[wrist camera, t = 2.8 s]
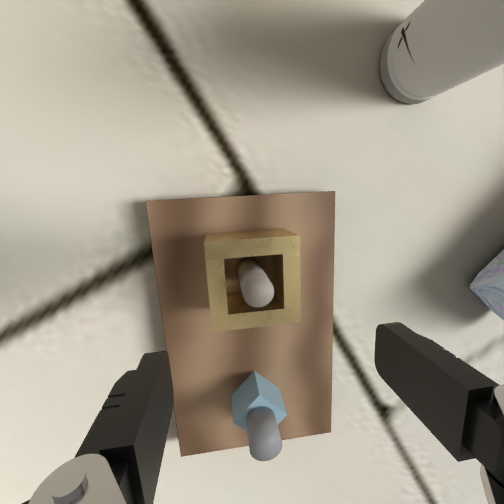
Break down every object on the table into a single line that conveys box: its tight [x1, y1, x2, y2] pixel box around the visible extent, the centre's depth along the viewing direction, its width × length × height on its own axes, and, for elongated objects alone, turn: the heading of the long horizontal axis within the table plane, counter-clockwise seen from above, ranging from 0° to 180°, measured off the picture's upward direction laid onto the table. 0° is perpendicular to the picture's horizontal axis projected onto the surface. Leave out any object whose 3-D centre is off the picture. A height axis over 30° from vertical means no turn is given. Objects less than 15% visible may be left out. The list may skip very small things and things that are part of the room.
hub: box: [231, 371, 287, 461], centre depth 21 cm, size 3×3×6 cm
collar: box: [204, 229, 301, 332], centre depth 19 cm, size 6×6×4 cm
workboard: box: [146, 191, 335, 457], centre depth 21 cm, size 15×24×8 cm, turn 3°
